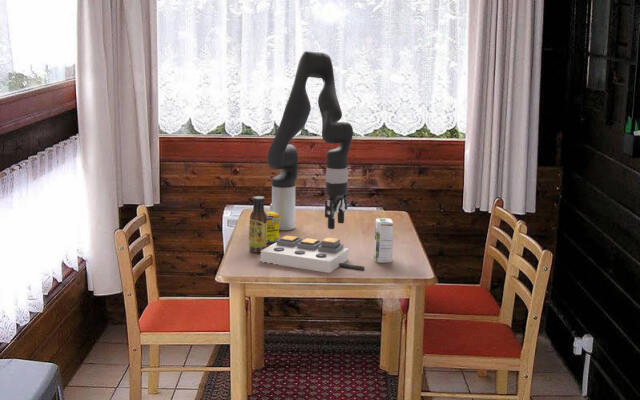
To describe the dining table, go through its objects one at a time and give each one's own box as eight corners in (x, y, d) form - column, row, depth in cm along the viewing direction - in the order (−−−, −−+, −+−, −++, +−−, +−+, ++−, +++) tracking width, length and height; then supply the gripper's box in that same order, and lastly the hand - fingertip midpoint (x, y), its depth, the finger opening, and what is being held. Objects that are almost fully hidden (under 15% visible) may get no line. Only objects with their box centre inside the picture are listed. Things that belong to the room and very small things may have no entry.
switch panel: (260, 262, 273) (260, 246, 272) (281, 249, 288) (281, 234, 286) (355, 277, 259) (356, 260, 258) (373, 263, 274) (373, 247, 272)
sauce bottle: (245, 251, 285) (245, 197, 280) (255, 247, 290) (255, 194, 286) (260, 254, 282) (260, 199, 277) (270, 250, 287) (270, 196, 282)
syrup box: (373, 257, 280) (374, 218, 277) (389, 257, 280) (391, 217, 277) (375, 262, 274) (377, 222, 271) (392, 262, 275) (394, 222, 272)
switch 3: (321, 246, 273) (321, 240, 273) (327, 242, 278) (327, 237, 277) (334, 248, 271) (334, 242, 271) (339, 244, 276) (340, 239, 275)
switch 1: (280, 244, 280) (280, 238, 279) (286, 240, 284) (286, 235, 284) (292, 245, 278) (292, 240, 278) (298, 242, 282) (298, 236, 282)
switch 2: (300, 246, 277) (300, 241, 276) (306, 243, 281) (306, 237, 281) (313, 248, 275) (313, 243, 274) (318, 245, 279) (318, 239, 279)
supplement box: (264, 244, 294) (264, 216, 291) (258, 240, 299) (258, 212, 296) (279, 242, 296) (279, 214, 294) (272, 238, 301) (272, 210, 299)
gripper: (334, 175, 281) (334, 220, 284) (318, 183, 268) (317, 229, 272) (354, 177, 278) (353, 222, 281) (338, 185, 265) (338, 232, 269)
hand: (336, 225), depth 276 cm, fingers open, 8 cm apart
